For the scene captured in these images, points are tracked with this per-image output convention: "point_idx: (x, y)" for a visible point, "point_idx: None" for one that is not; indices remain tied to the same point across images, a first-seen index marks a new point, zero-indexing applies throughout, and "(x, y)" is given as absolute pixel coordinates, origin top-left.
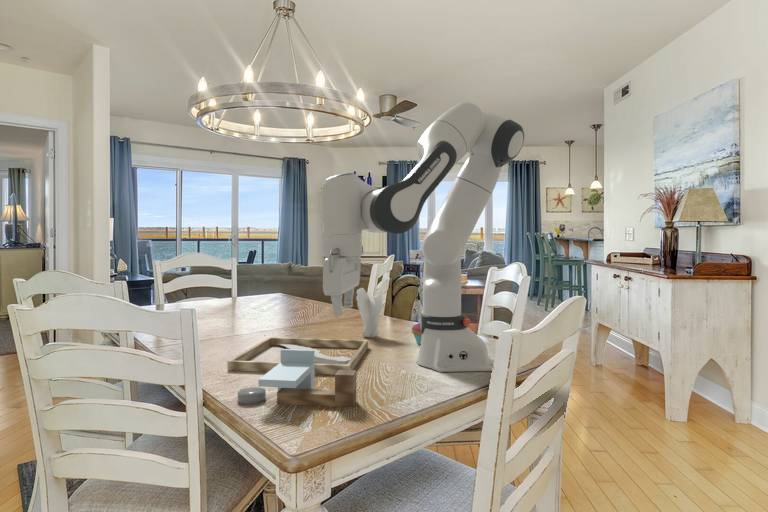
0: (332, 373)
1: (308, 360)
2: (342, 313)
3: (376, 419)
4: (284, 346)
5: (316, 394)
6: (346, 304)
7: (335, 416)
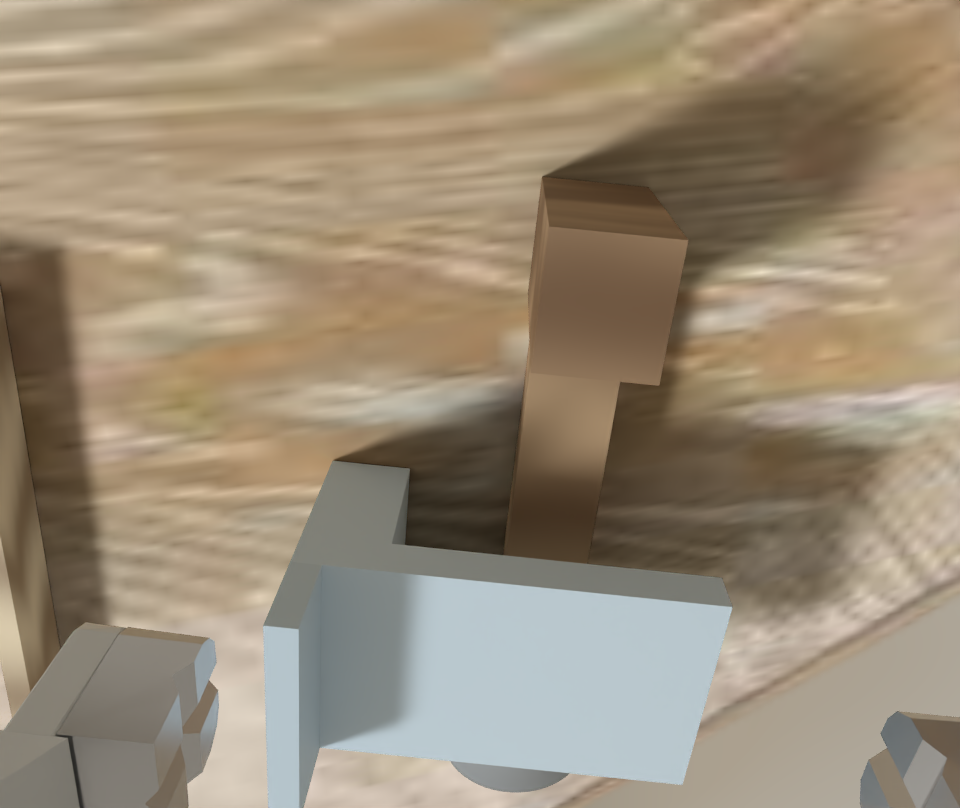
0: (14, 399)
1: (315, 608)
2: (926, 715)
3: (865, 9)
4: None
5: (608, 440)
6: (185, 746)
7: (780, 282)
